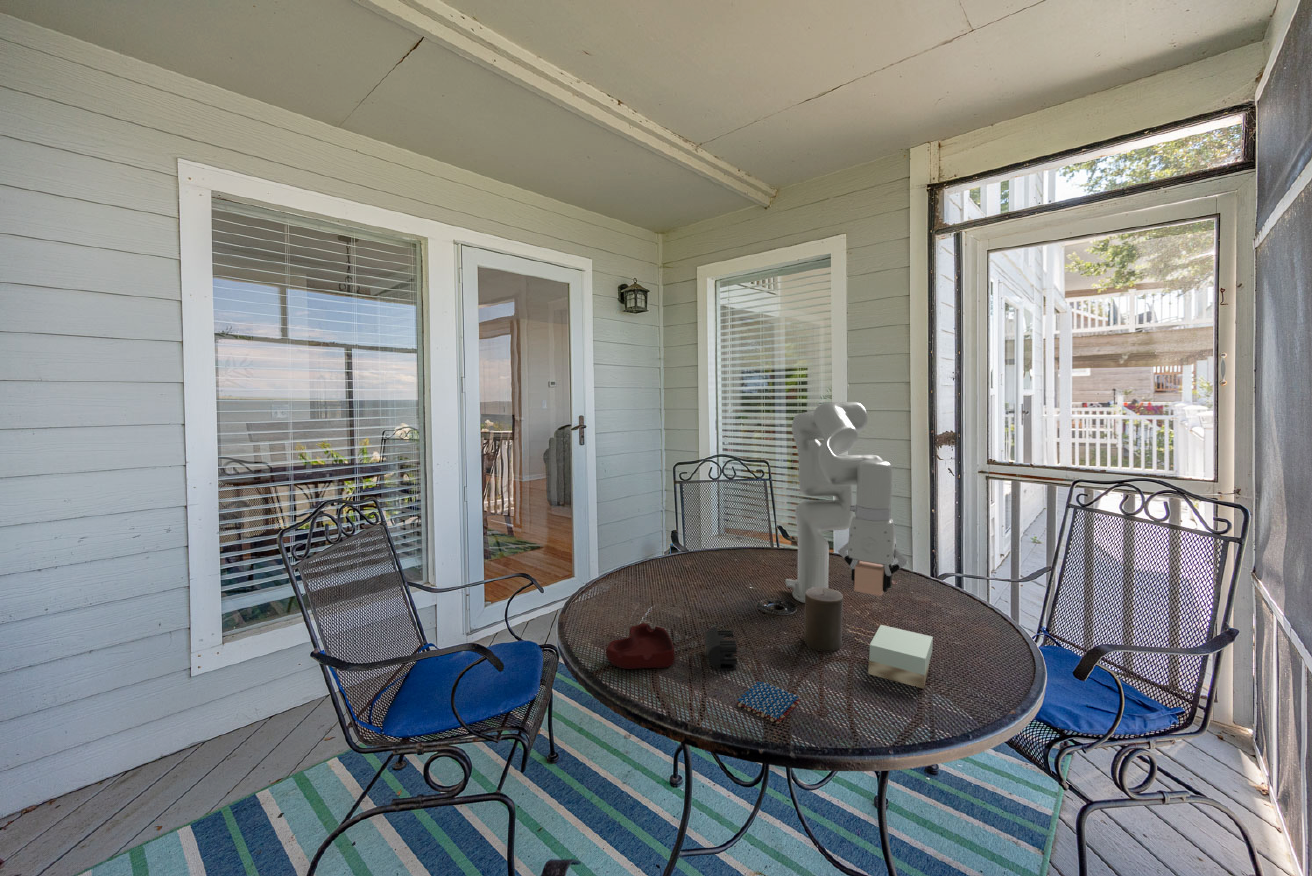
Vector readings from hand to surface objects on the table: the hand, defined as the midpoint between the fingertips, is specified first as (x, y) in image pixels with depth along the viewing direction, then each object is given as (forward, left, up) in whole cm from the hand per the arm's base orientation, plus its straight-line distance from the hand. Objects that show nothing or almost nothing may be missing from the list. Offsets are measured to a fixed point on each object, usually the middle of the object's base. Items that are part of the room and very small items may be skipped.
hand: (871, 586), depth 127 cm
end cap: (-33, -14, -22) cm, 42 cm away
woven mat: (-16, -25, -22) cm, 37 cm away
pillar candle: (-13, +8, -22) cm, 27 cm away
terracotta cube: (0, 0, -1) cm, 1 cm away
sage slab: (+6, +5, -18) cm, 20 cm away
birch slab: (+6, +5, -22) cm, 23 cm away
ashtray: (-49, -23, -22) cm, 59 cm away
